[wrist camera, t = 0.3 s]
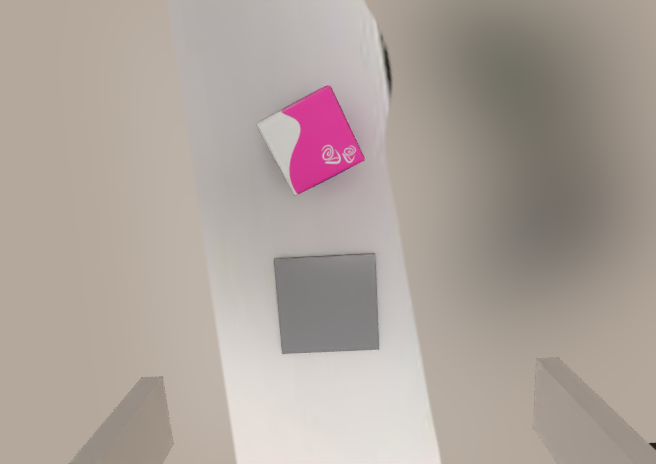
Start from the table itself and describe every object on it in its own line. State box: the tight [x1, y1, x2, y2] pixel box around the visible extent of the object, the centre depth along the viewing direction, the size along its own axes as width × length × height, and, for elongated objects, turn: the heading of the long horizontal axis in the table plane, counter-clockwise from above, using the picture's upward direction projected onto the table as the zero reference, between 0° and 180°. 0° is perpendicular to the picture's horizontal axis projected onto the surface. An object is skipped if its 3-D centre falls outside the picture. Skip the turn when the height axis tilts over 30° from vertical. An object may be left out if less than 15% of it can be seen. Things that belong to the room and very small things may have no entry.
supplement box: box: [256, 86, 365, 195], centre depth 34 cm, size 6×6×12 cm
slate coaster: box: [274, 253, 379, 354], centre depth 42 cm, size 10×10×1 cm
